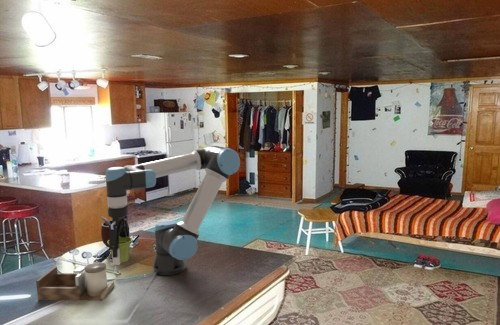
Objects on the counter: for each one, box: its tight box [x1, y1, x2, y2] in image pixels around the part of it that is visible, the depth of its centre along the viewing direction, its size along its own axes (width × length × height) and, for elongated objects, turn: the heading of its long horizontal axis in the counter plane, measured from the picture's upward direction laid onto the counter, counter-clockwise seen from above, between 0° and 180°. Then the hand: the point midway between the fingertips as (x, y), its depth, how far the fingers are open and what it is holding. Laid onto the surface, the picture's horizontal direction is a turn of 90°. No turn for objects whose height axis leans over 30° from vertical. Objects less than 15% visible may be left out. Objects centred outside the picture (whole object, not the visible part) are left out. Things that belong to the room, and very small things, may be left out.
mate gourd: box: [99, 215, 130, 259], centre depth 207 cm, size 16×14×20 cm
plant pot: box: [107, 236, 133, 264], centre depth 162 cm, size 9×9×9 cm
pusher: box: [72, 266, 87, 296], centre depth 164 cm, size 4×11×10 cm, turn 178°
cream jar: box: [84, 262, 108, 296], centre depth 165 cm, size 8×8×11 cm
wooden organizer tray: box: [35, 266, 116, 302], centre depth 165 cm, size 26×14×9 cm, turn 88°
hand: (120, 259), depth 162 cm, fingers closed on plant pot, 8 cm apart
